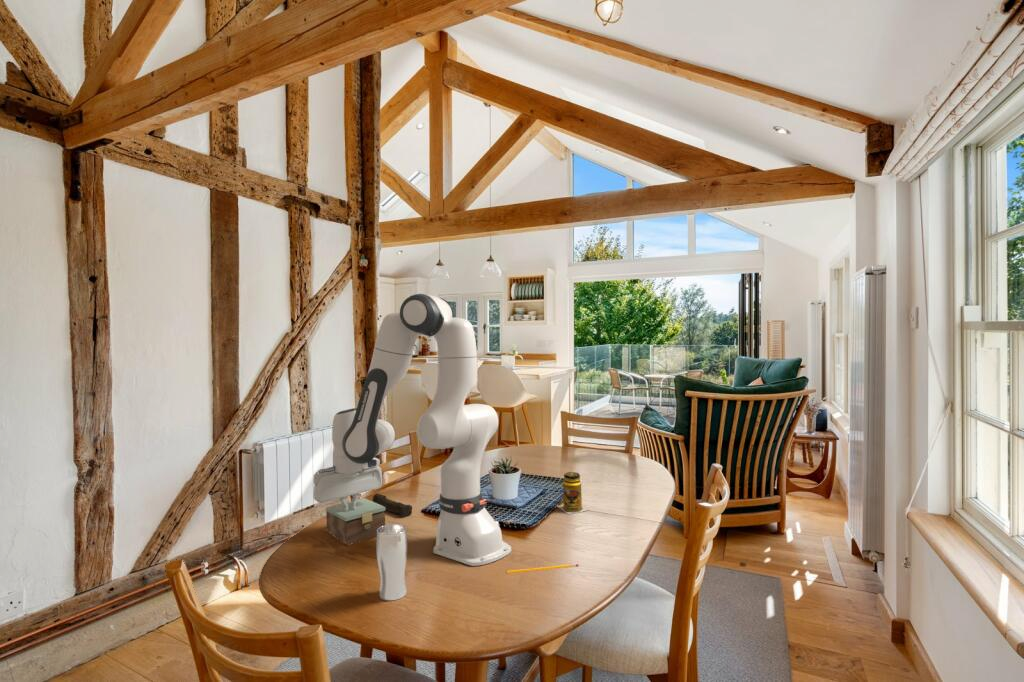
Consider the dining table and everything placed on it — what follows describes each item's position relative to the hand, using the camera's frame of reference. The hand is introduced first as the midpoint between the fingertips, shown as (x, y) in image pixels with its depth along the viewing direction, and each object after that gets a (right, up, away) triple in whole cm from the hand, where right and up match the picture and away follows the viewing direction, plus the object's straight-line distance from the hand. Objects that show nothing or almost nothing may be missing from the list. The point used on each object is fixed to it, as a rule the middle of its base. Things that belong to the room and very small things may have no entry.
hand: (349, 509), depth 149 cm
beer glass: (+21, -8, -34) cm, 41 cm away
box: (+1, -8, +2) cm, 8 cm away
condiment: (+68, -6, +19) cm, 71 cm away
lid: (+1, -3, +2) cm, 4 cm away
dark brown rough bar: (+7, -8, +21) cm, 23 cm away
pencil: (+56, -8, -23) cm, 61 cm away
